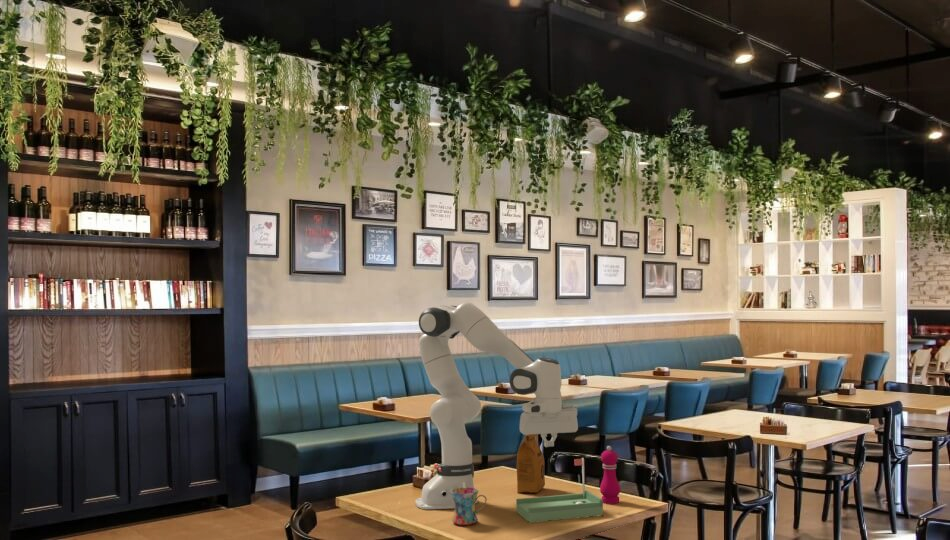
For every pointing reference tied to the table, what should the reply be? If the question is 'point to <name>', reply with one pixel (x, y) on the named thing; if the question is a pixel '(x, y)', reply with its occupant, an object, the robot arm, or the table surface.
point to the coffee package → (530, 466)
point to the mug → (465, 505)
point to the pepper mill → (609, 477)
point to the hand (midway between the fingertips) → (549, 446)
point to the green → (561, 504)
